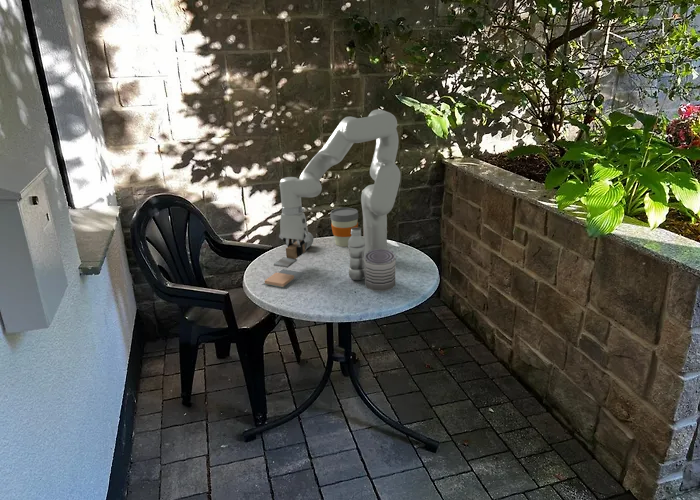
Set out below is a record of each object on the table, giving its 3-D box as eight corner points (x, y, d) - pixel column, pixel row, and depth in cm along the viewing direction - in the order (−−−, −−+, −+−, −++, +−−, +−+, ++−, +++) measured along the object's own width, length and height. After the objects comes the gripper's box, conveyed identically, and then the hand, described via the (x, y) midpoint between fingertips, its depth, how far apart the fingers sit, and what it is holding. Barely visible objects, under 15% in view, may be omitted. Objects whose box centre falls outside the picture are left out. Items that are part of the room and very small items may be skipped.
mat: (306, 274, 192) (305, 272, 192) (286, 290, 180) (286, 288, 180) (283, 270, 197) (283, 269, 196) (262, 285, 184) (262, 284, 184)
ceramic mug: (315, 245, 221) (313, 229, 218) (308, 252, 214) (306, 235, 211) (293, 244, 224) (292, 228, 222) (286, 250, 217) (284, 234, 214)
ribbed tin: (400, 281, 184) (400, 251, 179) (388, 294, 174) (388, 263, 170) (372, 276, 189) (372, 247, 184) (359, 288, 179) (358, 258, 175)
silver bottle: (357, 273, 191) (355, 225, 184) (369, 278, 187) (368, 228, 179) (345, 278, 187) (343, 229, 180) (357, 284, 183) (356, 233, 175)
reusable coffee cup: (325, 244, 222) (324, 212, 217) (344, 236, 231) (342, 206, 225) (346, 250, 214) (345, 217, 209) (364, 242, 223) (364, 210, 218)
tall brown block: (295, 250, 199) (294, 240, 198) (308, 252, 197) (307, 241, 195) (273, 265, 186) (272, 254, 184) (287, 267, 183) (286, 256, 182)
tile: (294, 275, 187) (283, 283, 180) (294, 279, 187) (283, 287, 180) (275, 272, 190) (264, 280, 183) (276, 276, 190) (264, 284, 184)
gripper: (315, 209, 187) (318, 253, 194) (278, 205, 194) (282, 248, 200) (306, 214, 181) (309, 260, 188) (268, 210, 187) (272, 255, 194)
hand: (295, 254), depth 194 cm, fingers closed on tall brown block, 3 cm apart
